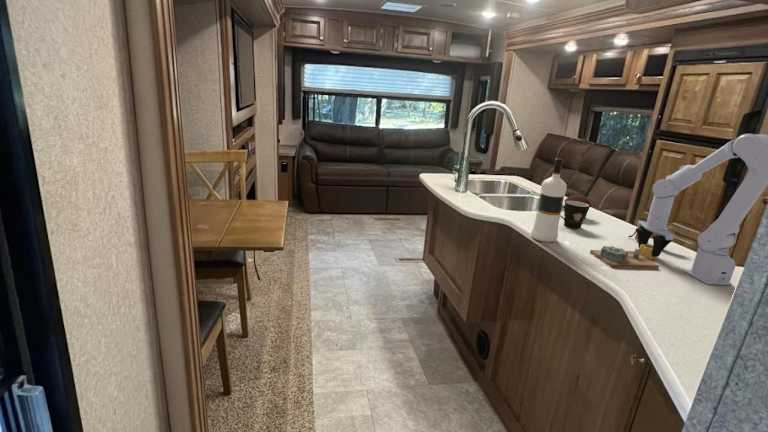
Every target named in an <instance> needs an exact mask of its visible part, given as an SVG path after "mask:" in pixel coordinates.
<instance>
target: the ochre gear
mask: <svg viewBox="0 0 768 432" xmlns="http://www.w3.org/2000/svg"><path fill="white" fill-rule="evenodd" d="M638 249H640V250H641V251H640V255H641V256H643V257H645V258H647V259H648V260H651V259H653V260H657V259H658V257H654V256H652V250H653V245H652V244H648V243H647V244H641V245H640V248H638Z"/></svg>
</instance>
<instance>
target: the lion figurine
mask: <svg viewBox="0 0 768 432" xmlns="http://www.w3.org/2000/svg"><path fill="white" fill-rule="evenodd" d="M637 228H640V227H639V226H637ZM666 228H668V231H669V232H670V233H672V234H674V235H675V233H676V229H675V228H674V227H673V226H670V225H667V226H666ZM653 236H659V235H657V234H655V233H653V234H652V235H651V237H650V238H649V239H652V240H653ZM632 237H634V239H635V240H636V243H638V235H637V232H636V230H634V232H633V234H631V235H628V238H632Z"/></svg>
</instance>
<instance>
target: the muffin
mask: <svg viewBox="0 0 768 432" xmlns="http://www.w3.org/2000/svg"><path fill="white" fill-rule="evenodd" d="M566 201H578V202H582V203H586V204H588V205H589V206H588V209H587V212H586V215H585V217H584V220H586V218H587V214H588V212H589V210H590V208H591V207H592V203H591V201H590V199H589V198H588V197H586V196H585V195H583V194H576V193H575V194H572V195H569V196H567V197H566V198H564V200H563V203H564V206H566ZM563 209H564V208H563ZM563 214H564V216H563V217H565V209H564V211H563Z"/></svg>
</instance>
